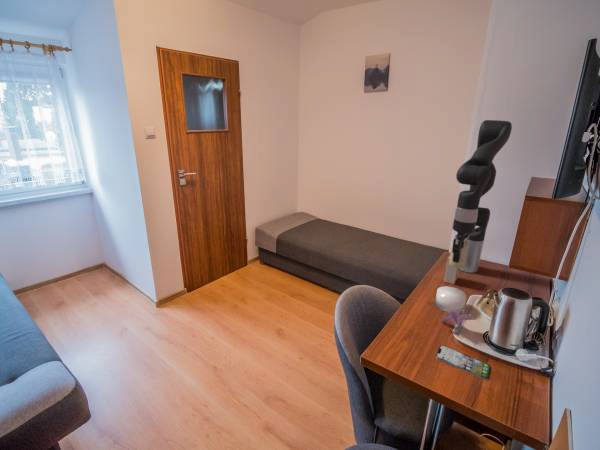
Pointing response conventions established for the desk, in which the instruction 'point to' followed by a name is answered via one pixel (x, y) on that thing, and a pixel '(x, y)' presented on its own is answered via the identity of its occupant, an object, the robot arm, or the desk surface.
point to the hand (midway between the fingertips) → (457, 259)
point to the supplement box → (451, 273)
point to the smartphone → (463, 362)
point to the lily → (456, 318)
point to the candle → (462, 257)
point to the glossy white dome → (450, 299)
